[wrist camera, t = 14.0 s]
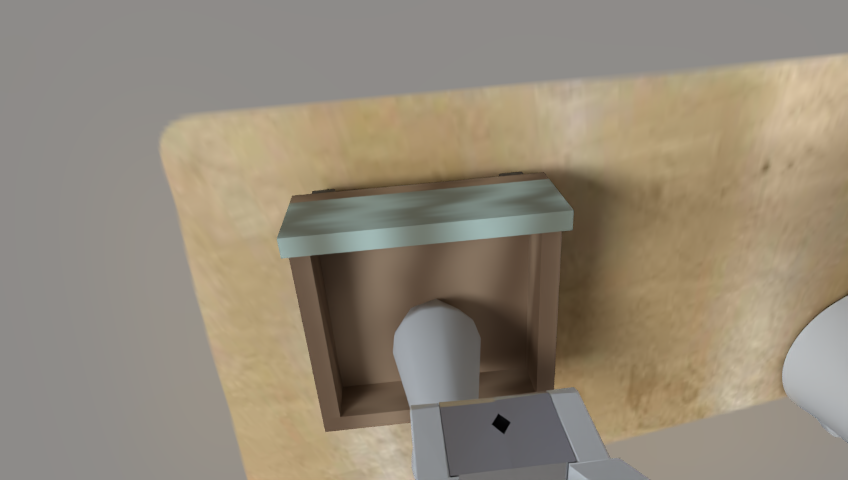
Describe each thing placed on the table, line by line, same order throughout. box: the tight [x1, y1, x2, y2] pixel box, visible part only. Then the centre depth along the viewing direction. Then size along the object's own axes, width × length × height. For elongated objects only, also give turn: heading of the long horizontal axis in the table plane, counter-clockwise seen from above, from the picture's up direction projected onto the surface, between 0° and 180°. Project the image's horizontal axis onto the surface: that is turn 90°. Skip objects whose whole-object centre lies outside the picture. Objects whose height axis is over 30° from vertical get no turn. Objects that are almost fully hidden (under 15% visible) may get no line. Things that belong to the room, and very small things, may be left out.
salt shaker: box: [393, 299, 481, 478], centre depth 32 cm, size 6×6×13 cm
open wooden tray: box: [277, 172, 574, 432], centre depth 37 cm, size 16×16×9 cm
